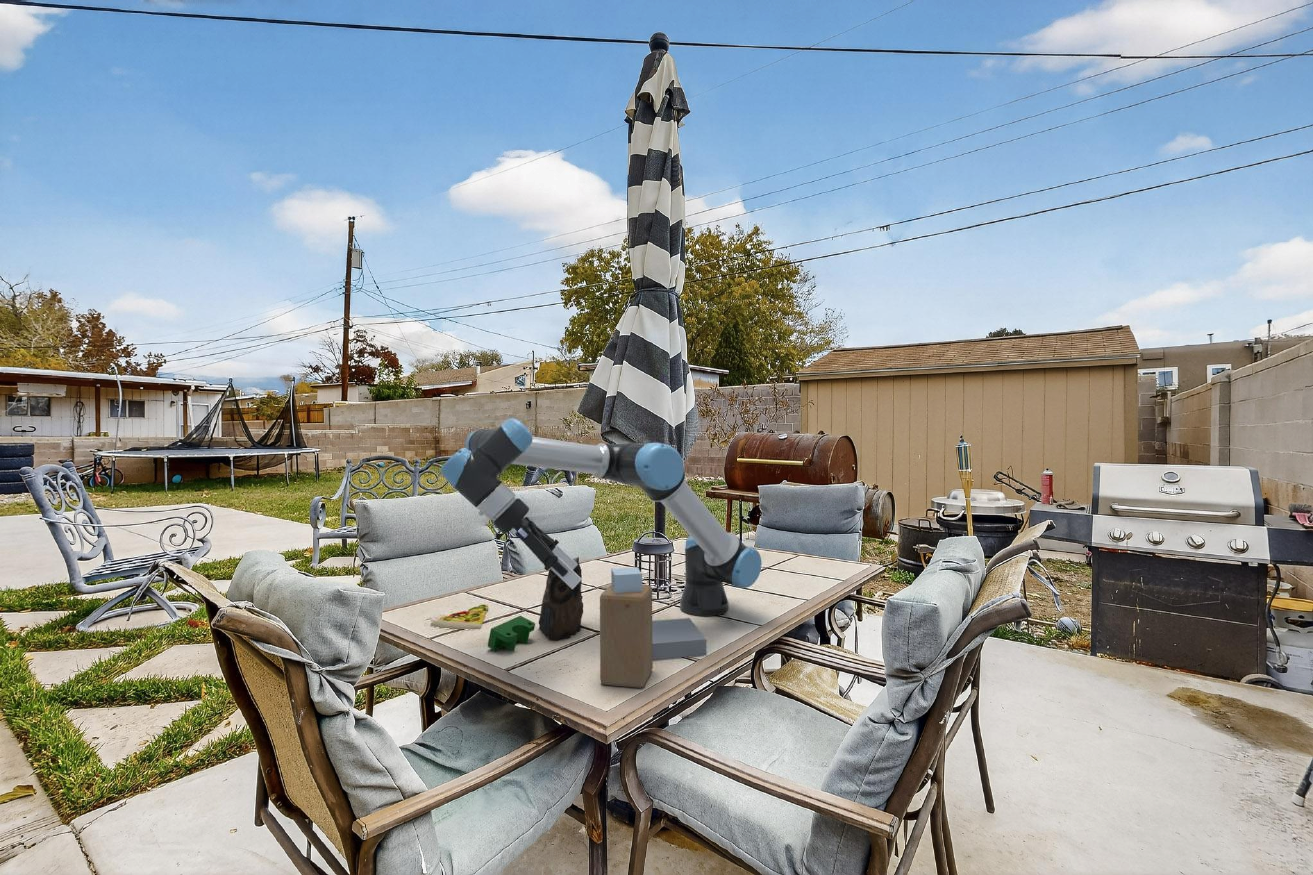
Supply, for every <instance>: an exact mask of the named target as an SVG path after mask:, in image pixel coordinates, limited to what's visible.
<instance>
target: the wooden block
mask: <svg viewBox="0 0 1313 875" xmlns="http://www.w3.org/2000/svg"><path fill="white" fill-rule="evenodd" d="M652 621H653V588H652V586H651V585H649V584H642V592H631V593H616V594H615V593H614V591H613V588H612V586H611V584H610V585H609V586H608V587H607V588H605V590H604V591H602V592H601V594H600V596H599V655H600V656H599V660H600V661H599V662H600V663H599V667H600V670H599V673H600V677H599V680H600V683H601V684H602V685H603V686H604V685H606V686H607V685H608V686H616V687H628V688H637V689H639V688H643V687H645V685H646V683H647V681H648V679H649V677H650V675H651V673H652V671H653V663H654V662H653V661H654V660H653V655H652Z"/></svg>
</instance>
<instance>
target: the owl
mask: <svg viewBox="0 0 1313 875" xmlns="http://www.w3.org/2000/svg"><path fill="white" fill-rule="evenodd" d="M572 559H573V560H574V561H575V562H576V563H577V564H578V565H577V566H576V567H575V568H574V569H573V571H574V572H575V573H576V574H577V575H578V576H579V577H580V578H581V579H582V577H583V576H582V568H581V564H580V557H579V556H577V557H574V558H572ZM582 583H583V580H581V581H580V582H579V583H578V584H577V585H576V586H575V587H574V588H573V589H571V588H570V587H569V586H568V585H567V584H566V583H565V582H564V581H563V580H562V579H561V578H560V577H559V576H558V575H557V574H555V573H554V572H553V571H552V570H551V569H549V570H548V573H547V576H546V582H545V589H544V592H543V596H542V602H541V606H540V615H539V619H538V625H539V626H538V630H540V631H541V633H542V634H544V636H545V637H547V638H548V640H549V641H553V642H559V641H564V640H568V639H570V638H571V637H572V636H575V635H576V634H577V633H579V632H580V633H581V624H582V618H583V614H584V602H583V595H582Z"/></svg>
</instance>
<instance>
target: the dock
mask: <svg viewBox="0 0 1313 875" xmlns="http://www.w3.org/2000/svg"><path fill="white" fill-rule="evenodd" d="M652 655H653V661H659V660H660V661H662V660H672V659H683V658H682V657H684V658H688V657H687V656H695V657H701V656H700V655H706V656H707V638H706V637H705V636H704V634H703V633H702V632H701V631H700V630H699V628H698V627H697V626H696V625H695V623H694V622H693V621H692V619H691V618H690V617H687V618H686V617H685V618H684V617H683V618H673V619H658V620H652Z"/></svg>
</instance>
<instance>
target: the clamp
mask: <svg viewBox="0 0 1313 875" xmlns="http://www.w3.org/2000/svg"><path fill="white" fill-rule="evenodd" d="M535 628H536V623H535V622H533V621H531V619H528V618H526V617H524V616H522V615H519V616H516V617H514V618H512V619H509V620H507V621H505V622H503V623H501V624H498V625H496V626H494V627H492V628H490V632H489V636H488V641H487V647H488V648H489V649H491V650H492V651H494V652H496V651H498V650H500V649H502V648H506V649H508V650H510V651H511V650H512V652H514V651H515V649H516V644H517V642H518V643H519V642H520V643H523V644H525V645H527V644H528V641H529V638H530V633H531V632H534V631H535ZM501 647H502V648H501ZM497 649H498V650H497ZM513 650H514V651H513Z"/></svg>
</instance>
